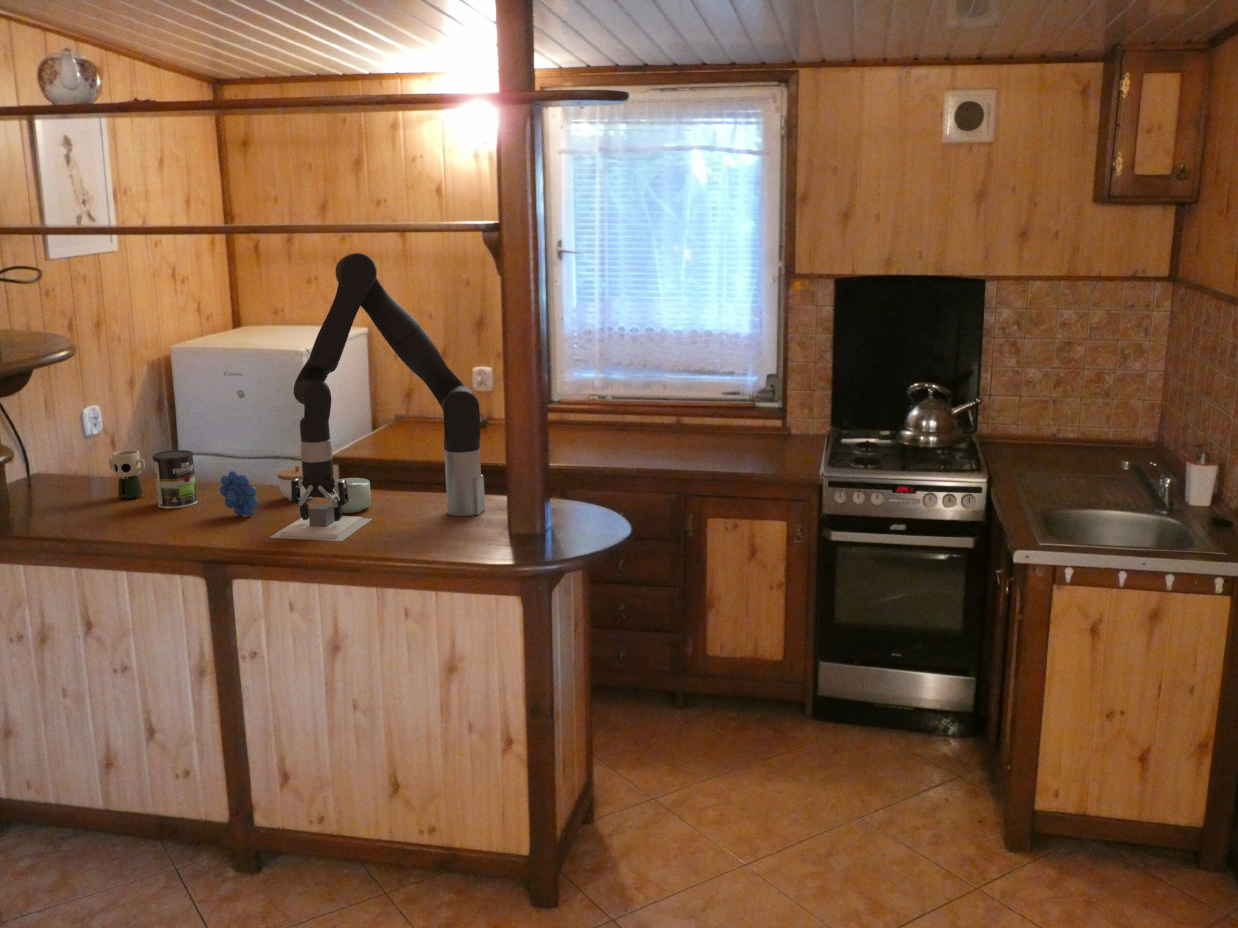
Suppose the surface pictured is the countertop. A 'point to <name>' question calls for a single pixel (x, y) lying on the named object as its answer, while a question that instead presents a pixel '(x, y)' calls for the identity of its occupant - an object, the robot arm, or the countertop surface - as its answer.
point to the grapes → (238, 493)
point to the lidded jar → (287, 477)
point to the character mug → (127, 472)
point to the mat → (341, 538)
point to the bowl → (356, 495)
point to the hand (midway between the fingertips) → (321, 519)
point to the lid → (321, 524)
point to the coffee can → (175, 479)
